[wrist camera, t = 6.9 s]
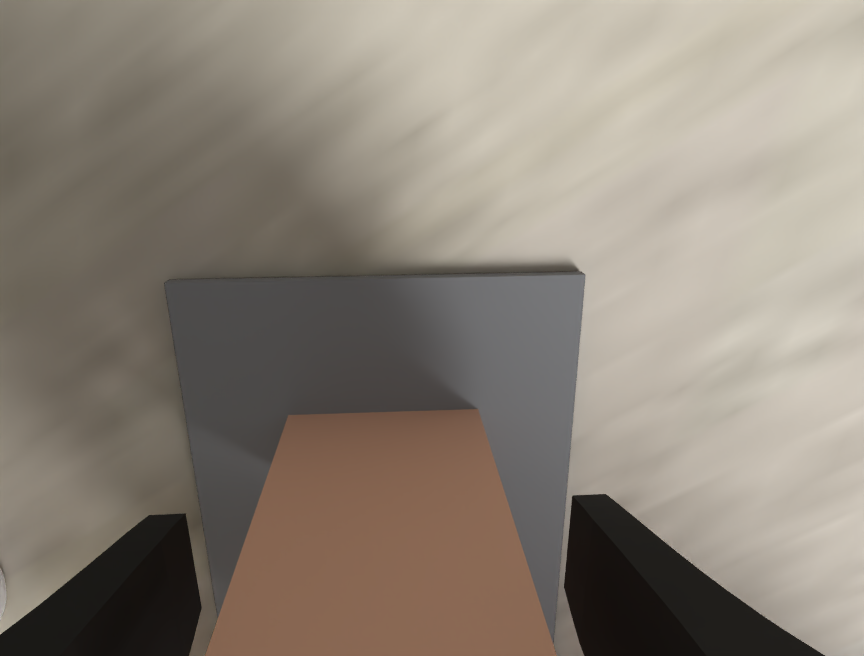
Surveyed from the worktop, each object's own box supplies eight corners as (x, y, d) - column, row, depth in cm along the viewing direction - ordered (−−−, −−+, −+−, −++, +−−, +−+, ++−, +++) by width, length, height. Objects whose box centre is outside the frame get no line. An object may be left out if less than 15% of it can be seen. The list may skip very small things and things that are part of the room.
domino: (476, 467, 14) (577, 858, 7) (293, 474, 14) (180, 892, 6) (478, 409, 14) (590, 761, 6) (288, 414, 13) (157, 793, 6)
